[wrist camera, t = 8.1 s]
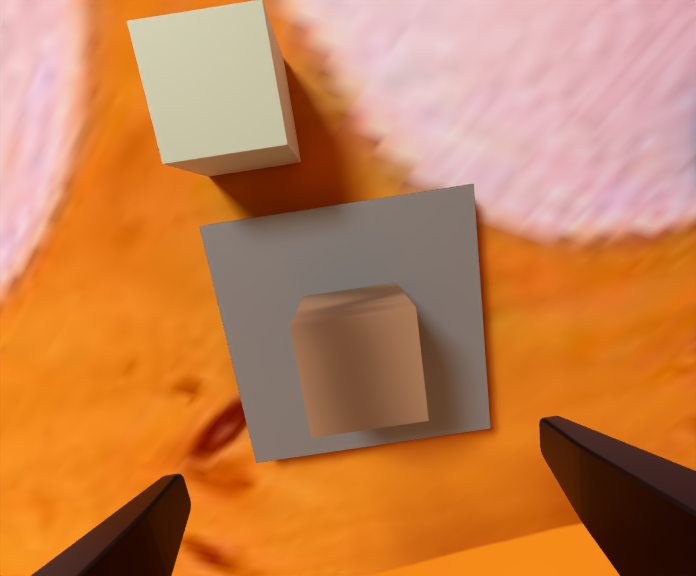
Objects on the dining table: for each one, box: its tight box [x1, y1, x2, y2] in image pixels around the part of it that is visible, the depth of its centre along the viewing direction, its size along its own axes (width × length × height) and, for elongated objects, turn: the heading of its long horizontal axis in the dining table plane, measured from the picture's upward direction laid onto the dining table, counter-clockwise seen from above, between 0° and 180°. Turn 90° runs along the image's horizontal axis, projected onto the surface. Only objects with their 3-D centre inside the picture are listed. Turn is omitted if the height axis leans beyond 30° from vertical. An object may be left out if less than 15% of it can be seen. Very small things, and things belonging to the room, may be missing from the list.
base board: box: [200, 184, 490, 463], centre depth 20 cm, size 14×14×2 cm
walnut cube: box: [290, 282, 429, 438], centre depth 16 cm, size 5×5×5 cm
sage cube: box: [127, 0, 301, 177], centre depth 16 cm, size 5×5×5 cm
